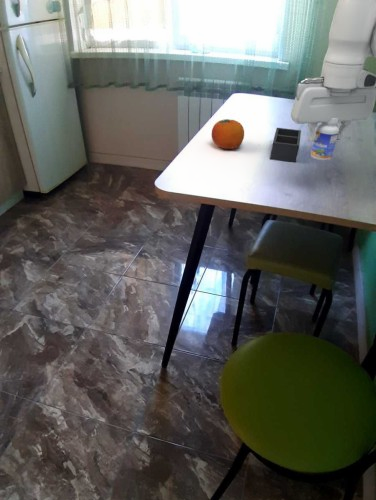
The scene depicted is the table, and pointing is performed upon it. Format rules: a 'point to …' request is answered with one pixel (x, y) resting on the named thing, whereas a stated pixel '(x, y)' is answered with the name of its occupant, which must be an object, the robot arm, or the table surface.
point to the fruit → (228, 134)
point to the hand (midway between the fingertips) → (325, 140)
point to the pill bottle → (325, 140)
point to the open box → (285, 145)
